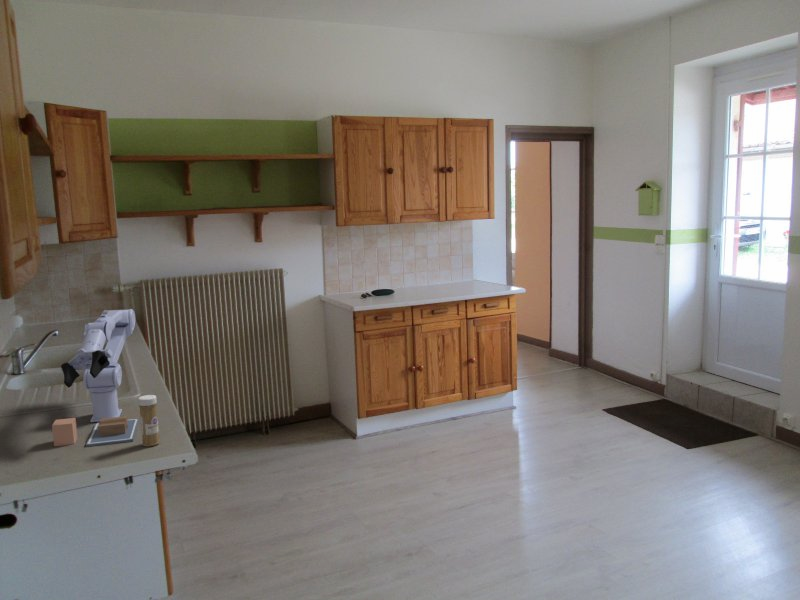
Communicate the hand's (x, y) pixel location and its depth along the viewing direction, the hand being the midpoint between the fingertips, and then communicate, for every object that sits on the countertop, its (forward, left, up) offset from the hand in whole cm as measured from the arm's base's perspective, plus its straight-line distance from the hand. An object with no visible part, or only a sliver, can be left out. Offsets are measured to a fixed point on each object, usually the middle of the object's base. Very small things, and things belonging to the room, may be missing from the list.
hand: (80, 380), depth 180 cm
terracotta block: (-2, -5, -18) cm, 19 cm away
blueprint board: (-5, +7, -18) cm, 20 cm away
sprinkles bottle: (+8, +18, -18) cm, 26 cm away
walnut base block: (-5, +7, -18) cm, 20 cm away
